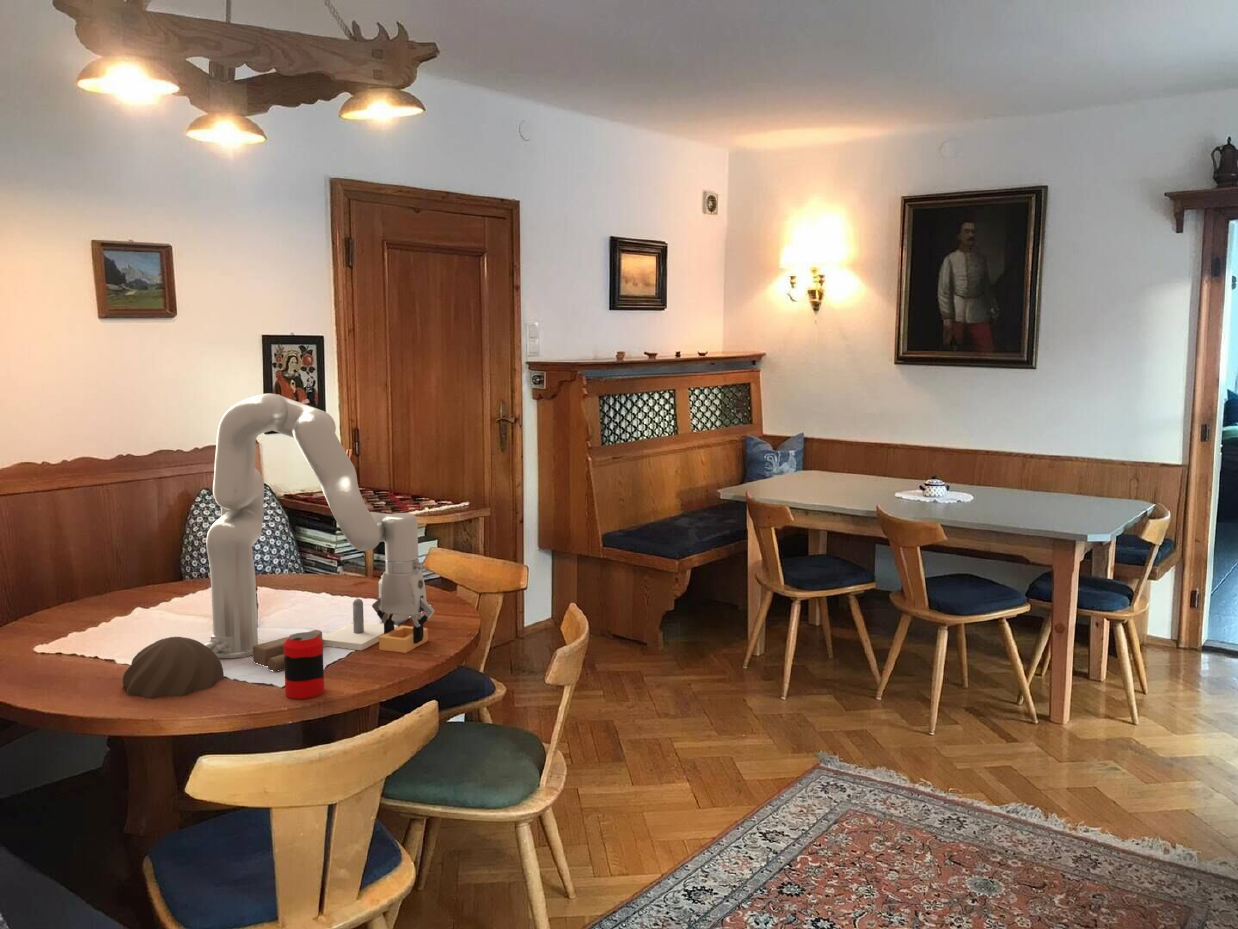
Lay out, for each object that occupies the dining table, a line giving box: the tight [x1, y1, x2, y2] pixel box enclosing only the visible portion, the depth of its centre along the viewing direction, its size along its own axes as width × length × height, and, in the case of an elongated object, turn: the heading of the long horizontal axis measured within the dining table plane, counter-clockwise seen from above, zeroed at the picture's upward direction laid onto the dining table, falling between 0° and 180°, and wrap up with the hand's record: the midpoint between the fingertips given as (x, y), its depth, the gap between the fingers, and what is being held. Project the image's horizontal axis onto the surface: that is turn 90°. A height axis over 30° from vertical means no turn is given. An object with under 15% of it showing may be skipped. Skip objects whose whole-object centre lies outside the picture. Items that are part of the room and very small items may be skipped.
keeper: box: [322, 598, 399, 651], centre depth 246 cm, size 16×12×10 cm
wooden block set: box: [252, 629, 323, 672], centre depth 229 cm, size 17×6×18 cm
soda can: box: [284, 631, 325, 700], centre depth 208 cm, size 8×8×12 cm
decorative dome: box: [122, 636, 225, 700], centre depth 215 cm, size 19×20×10 cm
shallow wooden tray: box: [378, 625, 429, 654], centre depth 241 cm, size 10×7×3 cm
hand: (403, 639), depth 241 cm, fingers closed on shallow wooden tray, 7 cm apart
